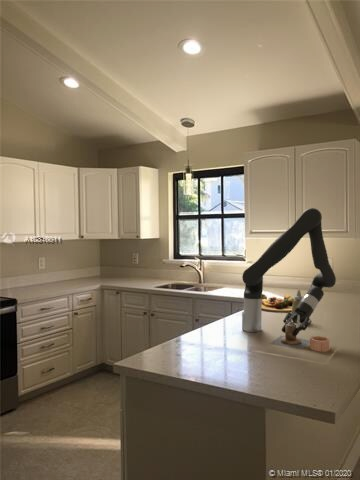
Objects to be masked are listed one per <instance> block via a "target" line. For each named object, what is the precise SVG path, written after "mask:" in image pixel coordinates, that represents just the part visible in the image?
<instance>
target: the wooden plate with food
mask: <svg viewBox="0 0 360 480" xmlns="http://www.w3.org/2000/svg"><path fill="white" fill-rule="evenodd" d="M293 300H295V297H292V296H291V295H290V294H289V293H286V294H285V295H284V297H283V298H277V297H275V296H270V297H269V298H268V297H267V295H265V294H264V293H262V311H263V312H270V313H281V314H282V313H288V312H290V313H292V304H293Z"/></svg>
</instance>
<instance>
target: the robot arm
mask: <svg viewBox="0 0 360 480" xmlns="http://www.w3.org/2000/svg"><path fill="white" fill-rule="evenodd" d="M322 215H323V214H322V213H321V211H320V210H319V209H318V208H314V207H310V208H307V209H305V210H303V212H302V214H301V215H300V216H299V217H298V219H297V220H296V221H295V222H294V224H292V225H291V226H290V228H288V229H286V230H285V231H284V232H283V233H282V234H281V235H279V236H278V237H277V238H276V239H275V240H274V241H273V242H272V243H271V244H270V245H269V247H268V248H267V249H266V250H265V251H264V252H263V253H262V255H261V256H260V257H259V258H258V259H257V260H256V261H255V262H254V263H252V265H250V266H248V267H247V268H246V269H245V270H244V271H243V273H242V281H243V283H244V284H245V288H244V290H243V291H244V292H243V311H242V313H241V320H242V322H241V324H242V325H241V328H242V329H241V330H242V331H244V332H247V333H257V332H260V331H262V328H263V327H262V317H263V316H262V315H263V314H262V294H263V286H264V285H263V284H264V275H265V274H266V273H267V272H268V271H269V270H270V269H271V268H272V267H274V266H276V265H277V264H278V263H280V262H281V261H282V260H284V258H286V257H287V256H288V255H289V254H290V253H291V251H293V249H295V248H296V246H297V245H298V243H299V242H300V240H301V239H302V238H303V237H304V236H305V235H306V234H307V233H308V236H309V240H310V250H311V256H312V261H313V266H314V268H315V269H317V270H319V271H320V272H319V273H317V274H315V276H314V277H313V278H312V282H311V284H310V286H309V287H310V288H309V289H308V290H307V292H306V293H305V294H304V296H303V298H302V300H301V301H300V302H299V304H298V305H297V307H296V308H295V312H294V313H293V314H292V312H287V313H286V316H285V317H284V319H283V320H282V322H283V324H284V325H283V326H282V328H281V332H282V333H284V334H285V325H286V324H295V325H296V328H295V330H294V331H293V332H292V335H293V336H296V337H297V335H298V334H299V333H300V332H302V331H306V329H308V327H309V326H310V325H311V323H312V320H311V318H310V317H311V316H312V314H313V313H314V312H315V311H316V308H317V307H318V305H319V303H320V302H321V300H322V299H323V297H324V290H322V289H323V288H333V287H334V286H335V285H336V282H337V280H336V279H337V278H336V275H335V272H334V270H333V268H332V266H331V264H330V261H329V257H328V251H327V248H326V244H325V241H324V235H323V231H322V230H323V228H322V219H323V218H322V217H323V216H322Z"/></svg>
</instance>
